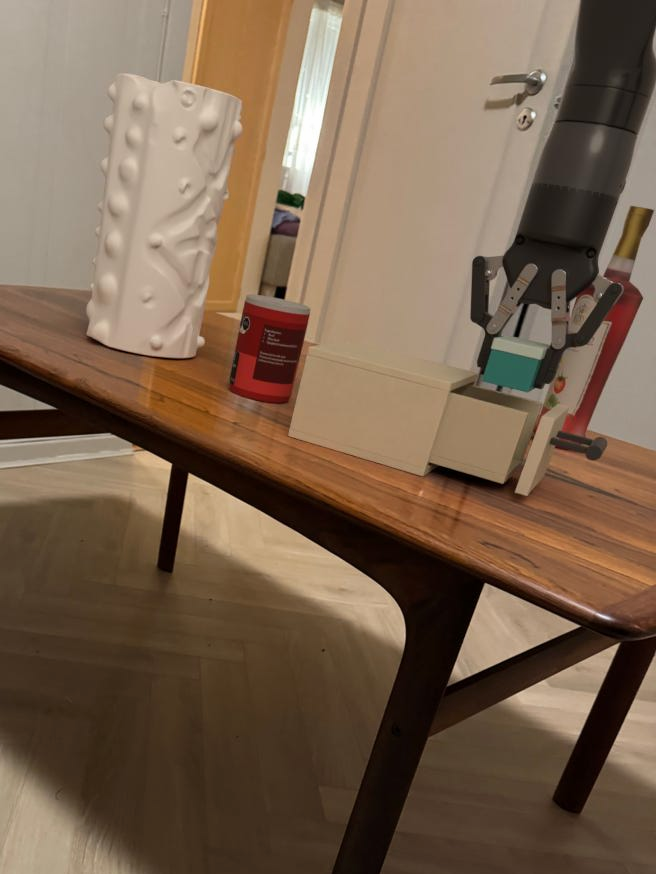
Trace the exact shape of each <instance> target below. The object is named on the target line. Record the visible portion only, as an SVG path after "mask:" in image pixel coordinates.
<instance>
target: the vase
mask: <svg viewBox="0 0 656 874" xmlns="http://www.w3.org/2000/svg"><path fill="white" fill-rule="evenodd" d="M107 96H108V97H109V99H110V101H112V102H113V104H112V105H113V106H112V113H111V114H110V115H108V116H106V117H105V118H104V120H103V122H102V123H103V124H102V125H103V129H104V130H105V131H106V132H107V134H108V135H109V145H108V154H107V157H105V158H103V159H102V161H101V162H100V170H101V172H102V174H103V176H104V178H105V181H104V188H103V197H102V200H101V201H100V202H99V203H97V211H98V212H100V214H101V219H100V225H99V226H96V228H95V235H96V237H97V239H98V244H97V252H96V256H94V257H93V258H92V260H91V263H92V264H93V266H94V277H93V282H92V283H90V285H89V289H90V291H91V298H90V300H89V301H88V303H87V304H86V306H85V307H86V308H85V314H86V316H87V319H88V321H89V322H88V327H87V330H86V336H87V337H89V338H92V339H93V340H95V341H97V342H99V343H100V344H103V345H104V346H106V347H108V348H111V349H115V350H119V351H122V352H123V351H124V352H127V353H131V354H136V355H143V356H148V357H155V358H156V357H157V358H164V359H165V358H167V359H190V358H194V357H195V356H196V355H197V351H198V349H200V348H203V347H204V346H205V343H206V340H205V337H203V336H202V335H201V336H200V332H201V330H202V329H201V328H202V325H203V318H204V313H205V308H206V303H207V302H206V301H207V297H208V291H209V286H210V269H211V267H212V263H213V261H214V258H215V253H216V252H217V249H218V246H217V242H218V225H219V223H220V220H221V218H222V214H223V209H224V202H225V201H227V200H228V199H229V196H230V193H229V189H228V182H229V175H230V170H231V165H232V159H233V157H234V155H235V153H236V148H235V144H236V143H235V142H236V140H238V139H240V137H241V136H242V134H243V125H242V123H241V122H240V121H241V119H242V115H241V112H242V110H243V105H242V104H243V100H241V99H240V98H238V97H237V96H234V95H233V94H230V93H227V92H224V91H221V90H218V89H214V88H211V87H207V86H203V85H199V84H196V83H191V82H187V81H182V80H176V79H171V80H170V81H166V82H163V83H162V82H159V81H156V80H152V79H148V78H147V77H146V76H145V77H144V76H141V75H138V74H134V73H124V72H123V73H117V74H115V77H114V81H113V83H112V84H110V86H109V87H108V89H107Z"/></svg>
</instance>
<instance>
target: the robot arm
mask: <svg viewBox="0 0 656 874" xmlns="http://www.w3.org/2000/svg"><path fill="white" fill-rule="evenodd" d="M576 20H577V21H576V28H575V33H574V34H575V35H574V44H573V45H574V47H573V58H572V66H571V70H570V72H569V76H568V78H567V81H566V84H565V86H564V89H563V93H562V96H561V99H560V101H559V105H558V108H557V112H556V116H555V118H554V123H553V124H552V127H551V129H550V133H549V135H548V137H547V139H546V141H545V144H544V146H543V149H542V151H541V153H540V156H539V160H538V163H537V166H536V169H535V172H534V176H533V178H532V182H531V186H530V188H529V192H528V196H527V198H526V202H525V205H524V208H523V210H522V211H523V212H522V215H521V217H520V221H519V224H518V227H517V230H516V233H515V237H514V240H513V242H512V243H511V245H510V246H509V247H508V249H507V250H506V251H505V252H504V254H503V255H496V256H483V255H477V256H475V257H474V258H473V259H472V263H471V285H470V287H471V288H470V289H471V290H470V313H469V315H470V316H469V318H470V321H471V322H472V323H474V324H476V325H478V326H479V327H480V328H482V329H483V331H484V337H483V341H482V344H481V347H480V349H479V350H480V351H479V353H478V356H477V360H476V364H477V365H476V367H477V368H480V372H479V373H480V375H482V376H483V375H484V372H485V369H486V366H487V363H488V360H489V356H490V353H491V350H492V349H491V346H492V343H493V340H494V338H497V337H502V336H503V335H502V333H503V331H504V330H505V328H506V327H507V325H508V324H509V322H510V320H511V319H512V318H513V316H514V315H515V314H516V313H517V311H518V310H519V309H520V307H521V306H522V304H523V305H537V306H539V307H541V308H543V309H547V310H550V311H551V312H550V314H551V315H550V322H551V323H550V324H551V342H550V344H549V345H550V347H549V348H547V350H546V353H545V356H544V358H543V360H542V363H541V366H540V369H539V372H538V375H537V378H536V381H535V384H534V388H535V389H538V390H543V389H544V387H545V385H550V383H551V382H552V381H553V380H554V378H555V375H556V372H557V370H558V367H559V364H560V361H561V358H562V355H563V353H564V351H565V350H566V349H567V348H570V347H582V346H584V345H586V344H588V343H589V341H590V340H591V338H592V337H593V336H594V334H595V333H596V331H597V330H598V328H599V327H600V325H601V324H602V322H603V321H604V320H605V318H606V317H607V315H608V314H609V312H610V311H611V309H612V308H613V306H614V305H615V304H616V302H617V301H618V299H619V298H620V296H621V295H622V293H623V291H624V287H623V285H622V284H620V283H614V282H613V281H611V280H609V279H607V278H605V277H603V275H602V274H600V268H599V257H600V253H601V251H602V248H603V246H604V242H605V240H606V237H607V234H608V231H609V228H610V225H611V223H612V220H613V218H614V214H615V211H616V209H617V206H618V203H619V200H620V197H621V194H622V193H623V192H624V190H625V186H626V183H627V177H628V174H629V172H630V169H631V164H632V161H633V158H634V157H633V156H634V152H635V146H636V143H637V139H638V135H639V134H640V131H641V128H642V125H643V123H644V120H645V116H646V113H647V111H648V108H649V105H650V103H651V100H652V96H653V94H654V91H655V88H656V55H655V51H654V38H655V35H656V0H579V6H578V13H577V19H576ZM501 268H503V271H504V272H505V277H506V280H507V283H508V286H509V291H508V292H507V293H506V295H505V297H504V298H503V300H502V301H501V303H499V306H498V308H497V310H496V311H495V313H494V314H491V313H489V306H490V305H489V304H490V286H491V285H490V281H494V280H495V279H496V277H498V272H499V270H500V269H501ZM591 284H593V285H594V287H595V292H594V294H593V300H594V301H595V302H596V303H597V304H596V306H595V307H594V309H593V310H592V312H591V313H590V315H589V316H588V318H587V319H586V321H585V322H584V324H583V325H582V327H581V328H580V330H579V331H578V333H571V334H569V320H570V316H571V302H572V301H573V300H574V299H576V297H577V296H578V295H579V294H580V293H582V292H583V291H584V290H585V289H587V288H588V287H589V286H590V285H591Z"/></svg>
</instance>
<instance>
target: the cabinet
mask: <svg viewBox="0 0 656 874" xmlns="http://www.w3.org/2000/svg"><path fill="white" fill-rule="evenodd" d="M304 361H305V362H304V365H303V370H302V374H301V378H300V384H299V386H298V391H297V396H296V400H295V403H294V409H293V412H292V417H291V420H290V425H289V430H288V434H287V437H289V438H293V439H296V440H300V441H302V442H306V443H309V444H313V445H316V446H319V447H323V448H326V449H329V450H333V451H337V452H340V453H343V454H346V455H350V456H354V457H356V458H359V459H363V460H366V461H370V462H373V463H376V464H379V465H383V466H387V467H390V468H393V469H397V470H400V471H403V472H407V473H409V474H413V475H416V476H419V477H424V476H426V475H427V474H429V473H430V472H432V471H433V470H435V469H437V468H438V467H440V465H436V464H433V463H429V460H430V457H431V454H432V451H433V447H434V444H435V441H436V438H437V434H438V431H439V428H440V425H441V421H442V418H443V415H444V412H445V409H446V405H447V402H448V399H449V396H450V392H451V390H454V389H456V388H459V387H461V386H464V385H466V384H471V385H475V386H476V383H477V380H478V377H479V373H480V372H475V371H472V370H468V369H463V368H460V367H455V366H452V365H447V364H444V363H441V362H440V363H439V362H435V361H432V360H428V359H427V360H426V359H423V358H419V357H416V356H413V355H408V354H404V353H400V352H395V351H391V350H387V349H384V348H380V347H376V346H371V345H368V344H364V343H360V342H356V341H353V340H347V341H339V342H332V343H324V344H319V345H318V344H317V345H311V346H308V349H307V353H306V357H305V360H304Z"/></svg>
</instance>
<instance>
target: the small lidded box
mask: <svg viewBox="0 0 656 874" xmlns="http://www.w3.org/2000/svg"><path fill="white" fill-rule="evenodd" d="M501 336H502V337H497V338H494V340H493V343H492V346H491V349H492V350H491V353H490V356H489V360H488V363H487V366H486V369H485V372H484V375H482V379H481V382H483V383H486V384H487V383H488V384H490V385H491V384H492V385H495V386H499V387H502V388H503V387H504V388H507V389H512V390H515V391H520V392H524V393H529V392H531V391H533V390H535V389H536V388H534V384H535V381H536V378H537V375H538V372H539V369H540V366H541V363H542V360H543V358H544V356H545V353H546V350H547V348H549V347H550V345H551V344H548V343H543V342H539V341H535V340H530V339H525V338H521V337H516V336H512V335H507V334H506V335H501Z"/></svg>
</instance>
